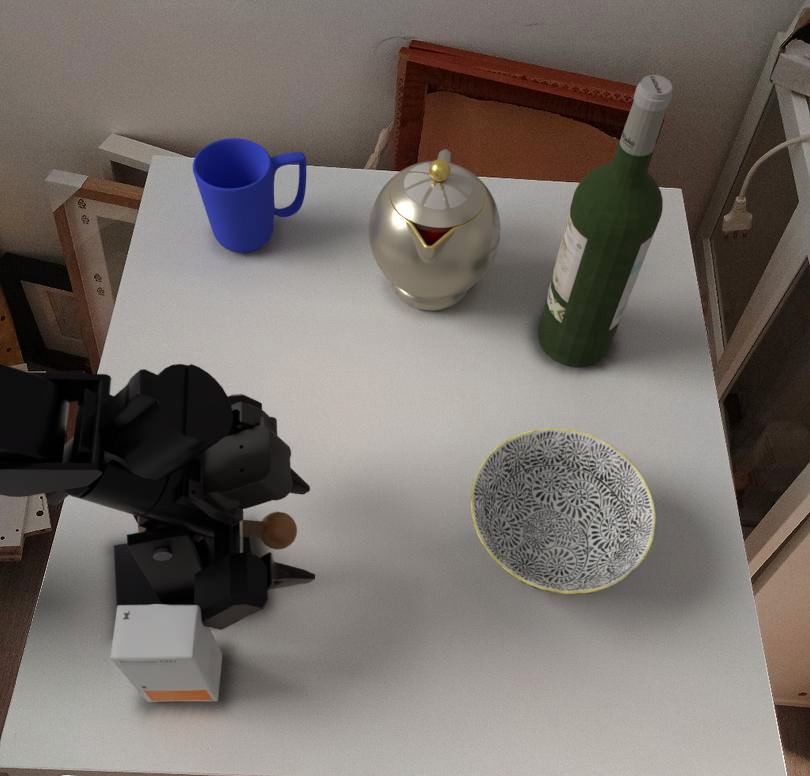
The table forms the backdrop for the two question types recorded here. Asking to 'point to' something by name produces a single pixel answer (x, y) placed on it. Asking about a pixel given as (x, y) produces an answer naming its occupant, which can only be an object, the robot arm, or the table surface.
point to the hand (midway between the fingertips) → (309, 533)
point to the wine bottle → (606, 238)
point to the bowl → (563, 511)
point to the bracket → (161, 566)
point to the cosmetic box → (167, 652)
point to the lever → (262, 530)
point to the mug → (243, 191)
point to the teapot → (434, 232)
